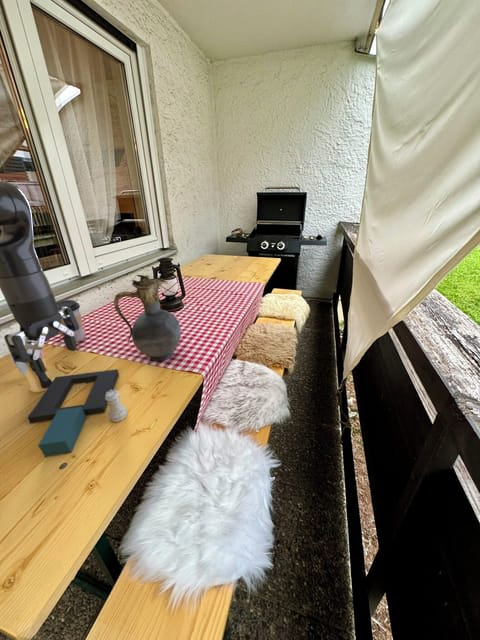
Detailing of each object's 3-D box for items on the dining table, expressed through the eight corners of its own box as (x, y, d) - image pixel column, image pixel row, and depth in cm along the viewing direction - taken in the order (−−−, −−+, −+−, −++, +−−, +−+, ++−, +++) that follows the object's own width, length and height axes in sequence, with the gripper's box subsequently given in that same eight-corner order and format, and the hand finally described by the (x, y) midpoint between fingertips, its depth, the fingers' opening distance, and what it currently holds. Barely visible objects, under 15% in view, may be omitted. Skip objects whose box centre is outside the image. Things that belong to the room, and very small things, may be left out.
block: (44, 457, 58) (37, 445, 56) (63, 421, 66) (58, 410, 64) (71, 452, 58) (65, 440, 57) (86, 418, 67) (81, 406, 65)
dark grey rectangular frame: (30, 423, 66) (27, 417, 65) (57, 381, 80) (55, 376, 79) (104, 412, 69) (102, 407, 68) (118, 374, 83) (117, 369, 82)
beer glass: (61, 382, 80) (42, 341, 73) (36, 397, 74) (13, 354, 67) (49, 375, 83) (30, 335, 76) (24, 388, 77) (2, 347, 70)
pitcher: (183, 362, 87) (169, 277, 73) (124, 367, 85) (99, 281, 72) (185, 344, 97) (173, 266, 83) (132, 349, 95) (112, 270, 81)
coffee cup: (87, 330, 109) (75, 297, 102) (92, 338, 102) (80, 304, 95) (61, 337, 104) (47, 303, 97) (65, 347, 97) (50, 311, 90)
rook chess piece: (108, 424, 65) (99, 401, 61) (110, 411, 69) (102, 388, 65) (127, 420, 66) (119, 397, 62) (128, 407, 70) (121, 385, 66)
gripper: (45, 281, 58) (68, 342, 66) (-25, 307, 46) (14, 378, 53) (73, 283, 57) (94, 345, 64) (8, 310, 44) (44, 383, 52)
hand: (58, 360), depth 59 cm, fingers open, 8 cm apart
